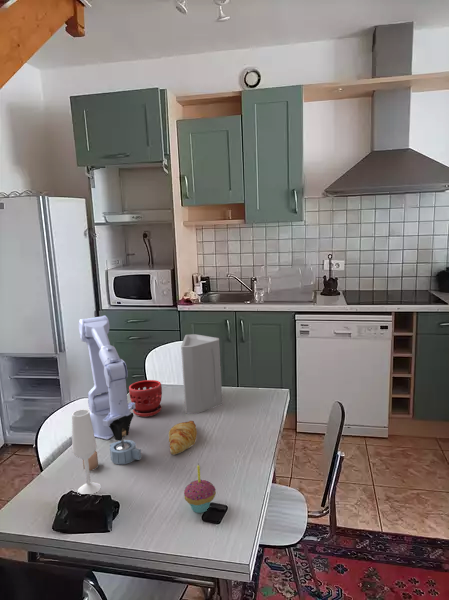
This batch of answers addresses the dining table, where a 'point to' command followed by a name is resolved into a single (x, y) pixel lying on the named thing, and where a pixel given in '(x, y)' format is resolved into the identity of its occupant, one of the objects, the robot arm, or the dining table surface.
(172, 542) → the dining table surface
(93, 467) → the tan rounded cylinder
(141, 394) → the plant pot
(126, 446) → the plunger
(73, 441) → the champagne flute
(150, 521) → the dining table surface
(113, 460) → the press pot
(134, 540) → the dining table surface
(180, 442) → the croissant
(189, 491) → the cupcake
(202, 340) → the grey tall triangular prism
